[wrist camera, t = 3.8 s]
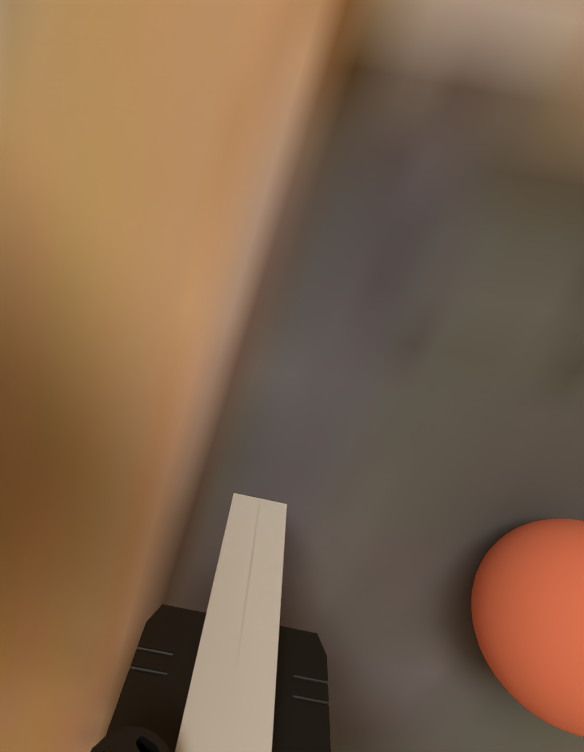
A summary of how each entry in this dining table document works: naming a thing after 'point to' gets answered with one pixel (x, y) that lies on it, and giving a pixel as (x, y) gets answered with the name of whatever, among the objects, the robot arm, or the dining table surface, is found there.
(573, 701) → the ball
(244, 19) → the dining table surface
